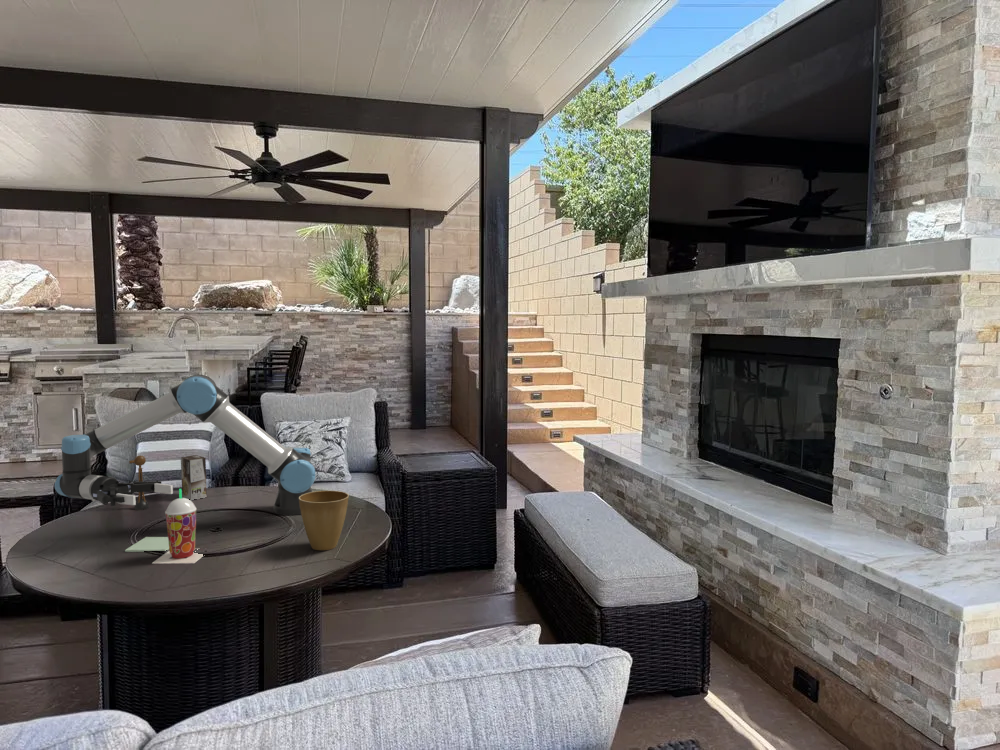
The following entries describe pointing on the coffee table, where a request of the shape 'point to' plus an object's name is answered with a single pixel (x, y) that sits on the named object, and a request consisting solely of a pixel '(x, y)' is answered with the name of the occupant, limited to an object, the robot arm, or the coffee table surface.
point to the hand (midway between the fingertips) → (153, 494)
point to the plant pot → (323, 517)
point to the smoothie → (181, 527)
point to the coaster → (150, 545)
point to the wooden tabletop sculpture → (140, 461)
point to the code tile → (177, 559)
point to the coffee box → (193, 477)
